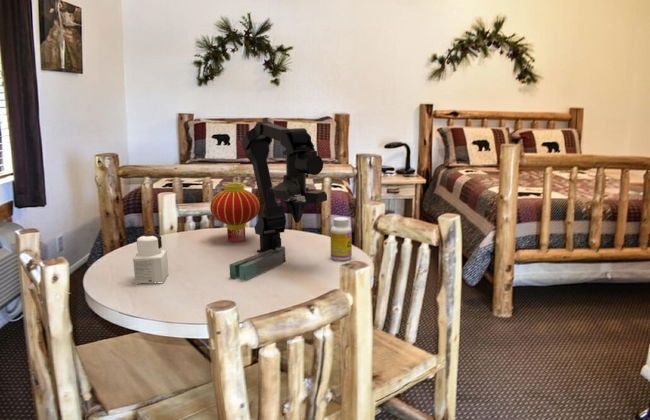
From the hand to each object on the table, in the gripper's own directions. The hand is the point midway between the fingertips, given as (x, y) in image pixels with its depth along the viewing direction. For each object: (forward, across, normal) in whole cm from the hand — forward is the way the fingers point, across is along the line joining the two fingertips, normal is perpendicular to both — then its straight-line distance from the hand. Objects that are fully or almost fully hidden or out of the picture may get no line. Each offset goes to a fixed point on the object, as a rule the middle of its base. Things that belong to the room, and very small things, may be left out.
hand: (297, 222), depth 168 cm
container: (+13, -26, -34) cm, 45 cm away
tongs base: (+13, -6, -10) cm, 18 cm away
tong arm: (+13, -4, -12) cm, 18 cm away
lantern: (+13, -35, +10) cm, 39 cm away
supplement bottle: (+13, +8, +12) cm, 20 cm away
